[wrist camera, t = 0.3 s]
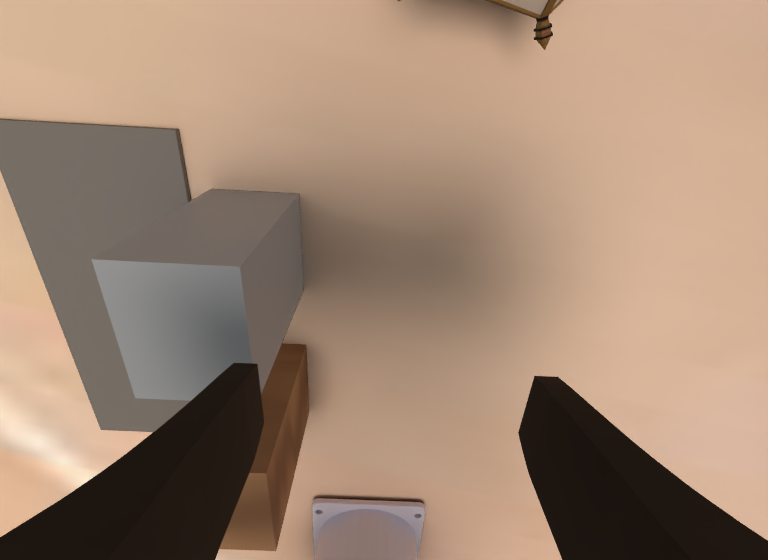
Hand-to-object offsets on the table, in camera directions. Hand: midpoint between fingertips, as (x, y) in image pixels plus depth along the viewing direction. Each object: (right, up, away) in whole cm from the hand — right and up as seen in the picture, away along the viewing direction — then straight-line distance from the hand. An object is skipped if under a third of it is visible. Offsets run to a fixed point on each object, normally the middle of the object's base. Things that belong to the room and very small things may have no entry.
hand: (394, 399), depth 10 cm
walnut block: (-7, -3, +12) cm, 14 cm away
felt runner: (-14, +2, +10) cm, 17 cm away
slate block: (-6, +5, +9) cm, 12 cm away
